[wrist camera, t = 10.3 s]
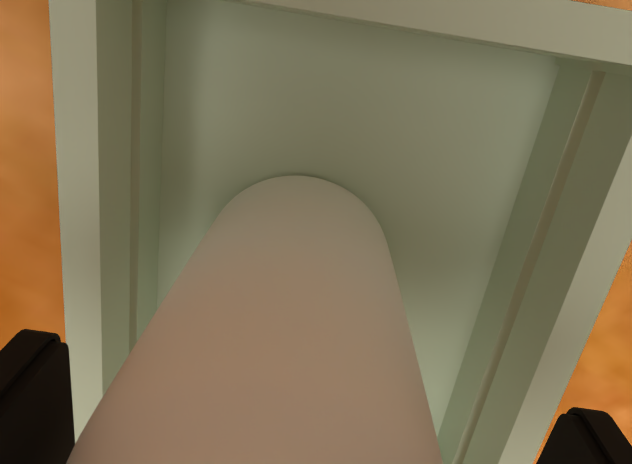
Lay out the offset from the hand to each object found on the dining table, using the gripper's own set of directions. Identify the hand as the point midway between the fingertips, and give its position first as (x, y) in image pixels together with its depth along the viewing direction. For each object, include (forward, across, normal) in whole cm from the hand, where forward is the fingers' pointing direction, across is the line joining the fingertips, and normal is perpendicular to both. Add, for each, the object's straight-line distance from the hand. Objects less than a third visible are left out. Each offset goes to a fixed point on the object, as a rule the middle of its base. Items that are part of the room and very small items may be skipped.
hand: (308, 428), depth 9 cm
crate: (+10, 0, +1) cm, 10 cm away
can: (+9, +1, +1) cm, 9 cm away
